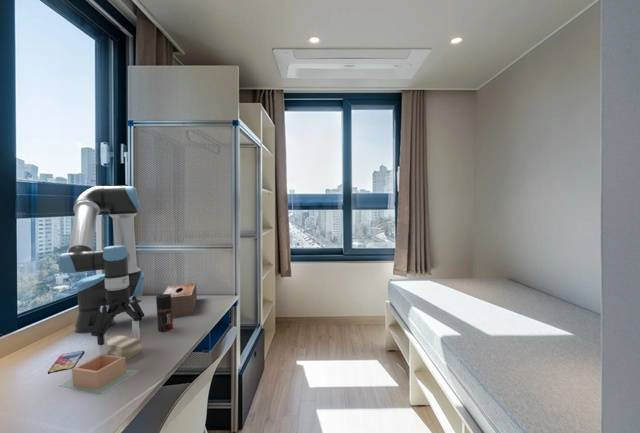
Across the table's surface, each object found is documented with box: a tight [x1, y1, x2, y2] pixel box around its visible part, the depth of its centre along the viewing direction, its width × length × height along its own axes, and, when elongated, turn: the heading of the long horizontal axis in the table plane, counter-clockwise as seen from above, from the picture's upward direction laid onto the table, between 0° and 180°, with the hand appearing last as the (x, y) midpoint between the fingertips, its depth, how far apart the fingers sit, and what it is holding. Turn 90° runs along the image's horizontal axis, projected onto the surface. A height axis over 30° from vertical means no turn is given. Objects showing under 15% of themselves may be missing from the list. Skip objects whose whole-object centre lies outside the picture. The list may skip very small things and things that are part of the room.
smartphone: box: [47, 350, 85, 375], centre depth 116 cm, size 7×1×15 cm
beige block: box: [100, 335, 143, 361], centre depth 120 cm, size 12×7×6 cm, turn 68°
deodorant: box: [155, 293, 174, 333], centre depth 143 cm, size 6×6×15 cm
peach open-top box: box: [71, 353, 127, 389], centre depth 103 cm, size 10×10×5 cm
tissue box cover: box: [162, 282, 198, 318], centre depth 172 cm, size 26×14×10 cm, turn 16°
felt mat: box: [58, 368, 140, 395], centre depth 103 cm, size 18×13×1 cm
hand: (121, 345), depth 119 cm, fingers open, 13 cm apart
